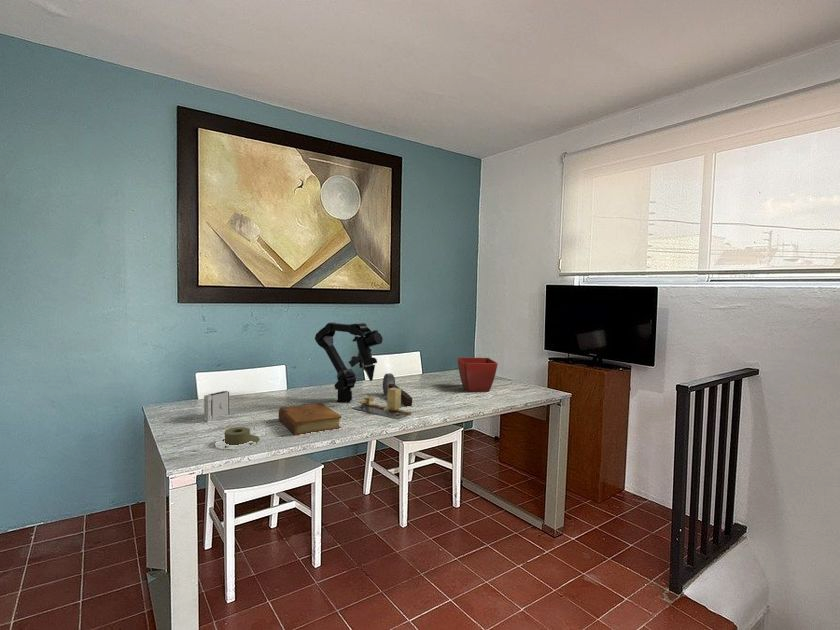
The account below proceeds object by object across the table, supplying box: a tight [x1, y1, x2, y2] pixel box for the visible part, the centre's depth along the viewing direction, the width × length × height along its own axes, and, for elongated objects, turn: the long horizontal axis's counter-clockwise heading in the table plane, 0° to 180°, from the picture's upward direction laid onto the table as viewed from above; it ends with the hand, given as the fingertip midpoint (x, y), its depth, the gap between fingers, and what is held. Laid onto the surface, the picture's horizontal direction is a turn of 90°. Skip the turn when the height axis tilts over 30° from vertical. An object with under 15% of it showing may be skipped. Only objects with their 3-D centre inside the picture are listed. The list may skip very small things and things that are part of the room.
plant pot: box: [457, 357, 499, 392], centre depth 254 cm, size 19×19×17 cm
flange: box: [224, 426, 261, 445], centre depth 159 cm, size 5×15×15 cm
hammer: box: [382, 372, 413, 408], centre depth 226 cm, size 5×11×30 cm
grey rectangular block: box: [203, 390, 230, 422], centre depth 188 cm, size 14×5×10 cm, turn 164°
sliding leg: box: [383, 387, 402, 412], centre depth 202 cm, size 4×9×10 cm, turn 146°
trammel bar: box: [359, 395, 412, 416], centre depth 205 cm, size 27×8×4 cm, turn 56°
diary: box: [278, 402, 342, 436], centre depth 182 cm, size 23×19×6 cm
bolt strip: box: [352, 404, 409, 420], centre depth 203 cm, size 27×7×1 cm, turn 56°
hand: (371, 380), depth 211 cm, fingers closed
